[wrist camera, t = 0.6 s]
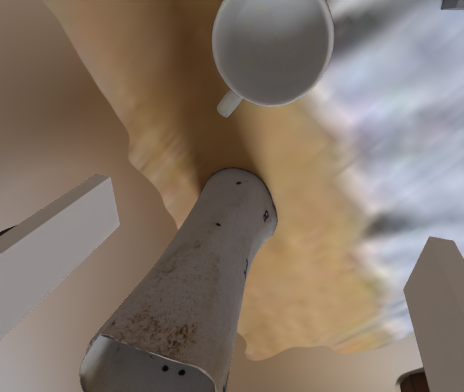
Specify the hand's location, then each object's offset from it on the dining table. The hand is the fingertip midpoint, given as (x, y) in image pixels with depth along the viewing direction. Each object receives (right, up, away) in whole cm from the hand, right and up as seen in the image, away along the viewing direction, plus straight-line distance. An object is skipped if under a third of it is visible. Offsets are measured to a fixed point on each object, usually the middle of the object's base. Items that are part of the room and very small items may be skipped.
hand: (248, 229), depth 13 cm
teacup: (+4, +18, +21) cm, 28 cm away
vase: (+1, 0, +32) cm, 32 cm away
